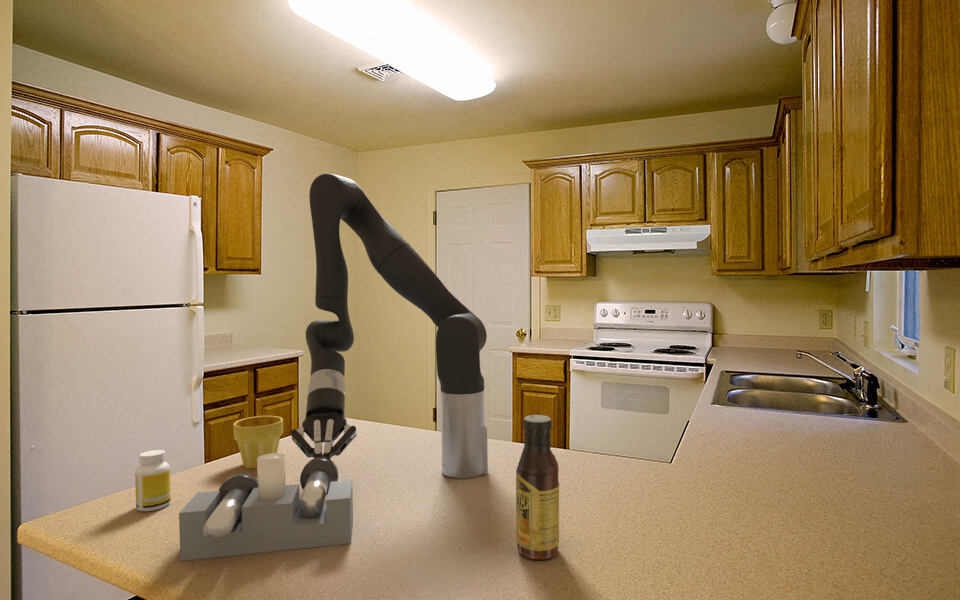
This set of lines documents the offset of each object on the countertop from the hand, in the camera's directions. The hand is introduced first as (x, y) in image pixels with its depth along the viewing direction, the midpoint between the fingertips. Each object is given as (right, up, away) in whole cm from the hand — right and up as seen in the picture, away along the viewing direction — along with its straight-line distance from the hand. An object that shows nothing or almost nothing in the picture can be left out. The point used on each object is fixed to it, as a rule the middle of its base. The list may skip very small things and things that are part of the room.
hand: (321, 475), depth 100 cm
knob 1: (-9, -3, -18) cm, 20 cm away
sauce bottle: (+38, -5, -21) cm, 44 cm away
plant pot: (-20, -5, +21) cm, 30 cm away
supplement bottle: (-30, -5, -2) cm, 31 cm away
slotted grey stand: (-3, -5, -16) cm, 17 cm away
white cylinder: (-3, +2, -16) cm, 17 cm away
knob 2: (+2, -2, -10) cm, 10 cm away
